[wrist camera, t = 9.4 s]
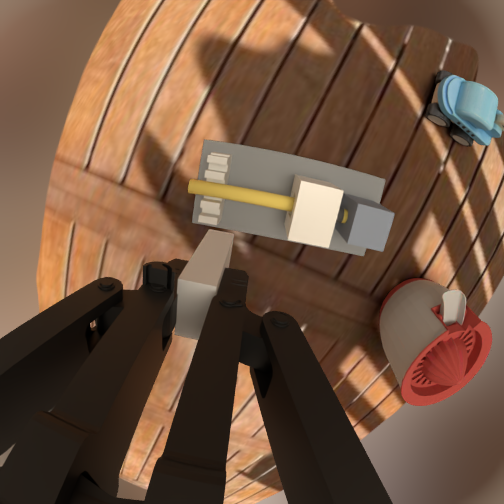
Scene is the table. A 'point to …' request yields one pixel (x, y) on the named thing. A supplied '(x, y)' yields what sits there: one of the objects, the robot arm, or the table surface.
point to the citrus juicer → (431, 340)
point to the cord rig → (284, 195)
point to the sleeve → (313, 211)
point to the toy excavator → (465, 110)
